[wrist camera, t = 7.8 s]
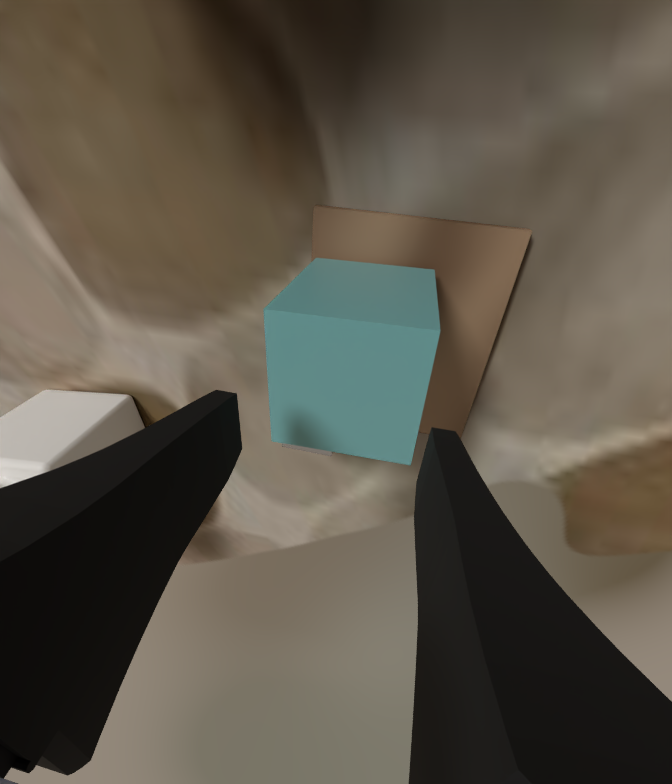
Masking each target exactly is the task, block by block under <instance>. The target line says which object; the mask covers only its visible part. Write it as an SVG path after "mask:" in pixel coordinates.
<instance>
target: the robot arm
mask: <svg viewBox="0 0 672 784" xmlns="http://www.w3.org/2000/svg"><path fill="white" fill-rule="evenodd" d="M241 450H242V442H241V432H240V421H239V411H238V401H237V393H231V392H225V391H220V390H215V391H213V392H211V393H209V394H207V395H205V396H203V397H201V398H199V399H198V400H196V401H194V402H192V403H190V404H188V405H187V406H185V407H183V408H181V409H179V410H178V411H176V412H174V413H172V414H170V415H168V416H167V417H165V418H163V419H161V420H159V421H157V422H156V423H154V424H152V425H150V426H148V427H146V428H144V429H142V430H140V431H138V432H136V433H134V434H132V435H130V436H128V437H126V438H124V439H122V440H120V441H118V442H116V443H114V444H112V445H110V446H108V447H106V448H103V449H101V450H99V451H97V452H95V453H92V454H90V455H88V456H85V457H83V458H81V459H78V460H76V461H73V462H71V463H68V464H66V465H64V466H61V467H59V468H56V469H53V470H51V471H48V472H45V473H42V474H40V475H37V476H34V477H31V478H28V479H25V480H22V481H20V482H17V483H14V484H11V485H8V486H5V487H2V488H0V784H18V783H15V782H12V781H9V780H6V779H4V777H5V776H6V774H7V773H8V771H9V770H10V768H14V769H17V770H20V771H23V772H26V773H30V772H31V771H32V770H33V769H34V768H35V766H36V765H38V766H41V767H44V768H47V769H50V770H53V771H56V772H59V773H62V774H65V775H70V774H72V773H74V772H76V771H77V770H79V769H80V768H82V767H83V766H84V765H86V764H87V763H88V762H89V761H90V760H91V758H92V756H93V753H94V751H95V748H96V745H97V743H98V740H99V738H100V735H101V733H102V730H103V728H104V725H105V723H106V720H107V718H108V716H109V713H110V711H111V708H112V706H113V703H114V701H115V698H116V696H117V693H118V691H119V688H120V686H121V684H122V681H123V679H124V677H125V675H126V672H127V670H128V668H129V665H130V663H131V661H132V659H133V656H134V654H135V651H136V649H137V647H138V645H139V643H140V640H141V638H142V636H143V634H144V632H145V629H146V627H147V625H148V623H149V621H150V619H151V617H152V615H153V612H154V610H155V608H156V606H157V603H158V601H159V599H160V598H161V595H162V593H163V591H164V589H165V587H166V585H167V583H168V581H169V579H170V577H171V575H172V573H173V571H174V569H175V567H176V565H177V563H178V562H179V560H180V558H181V556H182V554H183V553H184V551H185V549H186V547H187V546H188V544H189V543H190V541H191V539H192V538H193V536H194V535H195V533H196V531H197V530H198V528H199V527H200V525H201V523H202V522H203V520H204V518H205V517H206V515H207V514H208V512H209V510H210V509H211V507H212V506H213V504H214V502H215V501H216V499H217V497H218V496H219V494H220V493H221V491H222V489H223V488H224V486H225V484H226V483H227V481H228V479H229V477H230V475H231V473H232V471H233V469H234V466H235V464H236V462H237V460H238V457H239V455H240V453H241ZM414 525H415V550H416V572H417V593H418V633H417V655H416V676H415V693H414V711H413V727H412V743H411V758H410V773H409V784H672V702H671V701H670V700H669V699H668V698H667V697H666V696H665V695H664V694H663V693H662V692H661V691H660V690H659V689H658V688H657V687H656V686H655V685H654V684H653V683H652V682H651V681H650V680H649V679H648V678H647V677H646V676H645V675H644V674H642V672H641V671H640V670H639V669H637V668H636V667H635V666H634V665H633V664H632V663H631V662H630V661H629V660H628V659H627V658H626V657H625V656H624V655H623V654H622V653H621V652H620V651H619V650H618V649H617V648H616V647H615V646H614V645H613V643H612V642H611V641H610V640H609V639H608V638H607V637H606V636H605V635H604V634H603V633H602V632H601V631H600V630H599V629H598V628H597V627H596V626H595V624H594V623H593V622H592V621H591V620H590V619H589V618H588V617H587V616H586V615H585V614H584V613H583V611H582V610H581V609H580V608H579V607H578V606H577V605H576V604H575V603H574V602H573V601H572V600H571V598H570V597H569V596H568V595H567V594H566V593H565V592H564V591H563V590H562V588H561V587H560V586H559V585H558V584H557V583H556V581H555V580H554V579H553V578H552V577H551V575H550V574H549V573H548V572H547V571H546V569H545V568H544V567H543V566H542V564H541V563H540V562H539V561H538V559H537V558H536V557H535V556H534V554H533V553H532V552H531V550H530V549H529V548H528V546H527V545H526V544H525V543H524V541H523V540H522V538H521V537H520V536H519V534H518V533H517V531H516V530H515V529H514V527H513V526H512V524H511V523H510V522H509V520H508V519H507V517H506V516H505V514H504V513H503V511H502V510H501V508H500V507H499V505H498V504H497V502H496V501H495V499H494V497H493V496H492V494H491V493H490V491H489V489H488V488H487V486H486V484H485V483H484V481H483V479H482V478H481V476H480V474H479V473H478V471H477V469H476V467H475V466H474V464H473V462H472V460H471V458H470V456H469V455H468V453H467V451H466V449H465V447H464V445H463V443H462V441H461V439H460V437H459V435H458V434H457V433H456V431H451V430H446V429H440V428H434V427H431V431H430V434H429V438H428V442H427V446H426V449H425V453H424V457H423V460H422V464H421V468H420V472H419V475H418V479H417V484H416V497H415V512H414Z"/></svg>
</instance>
